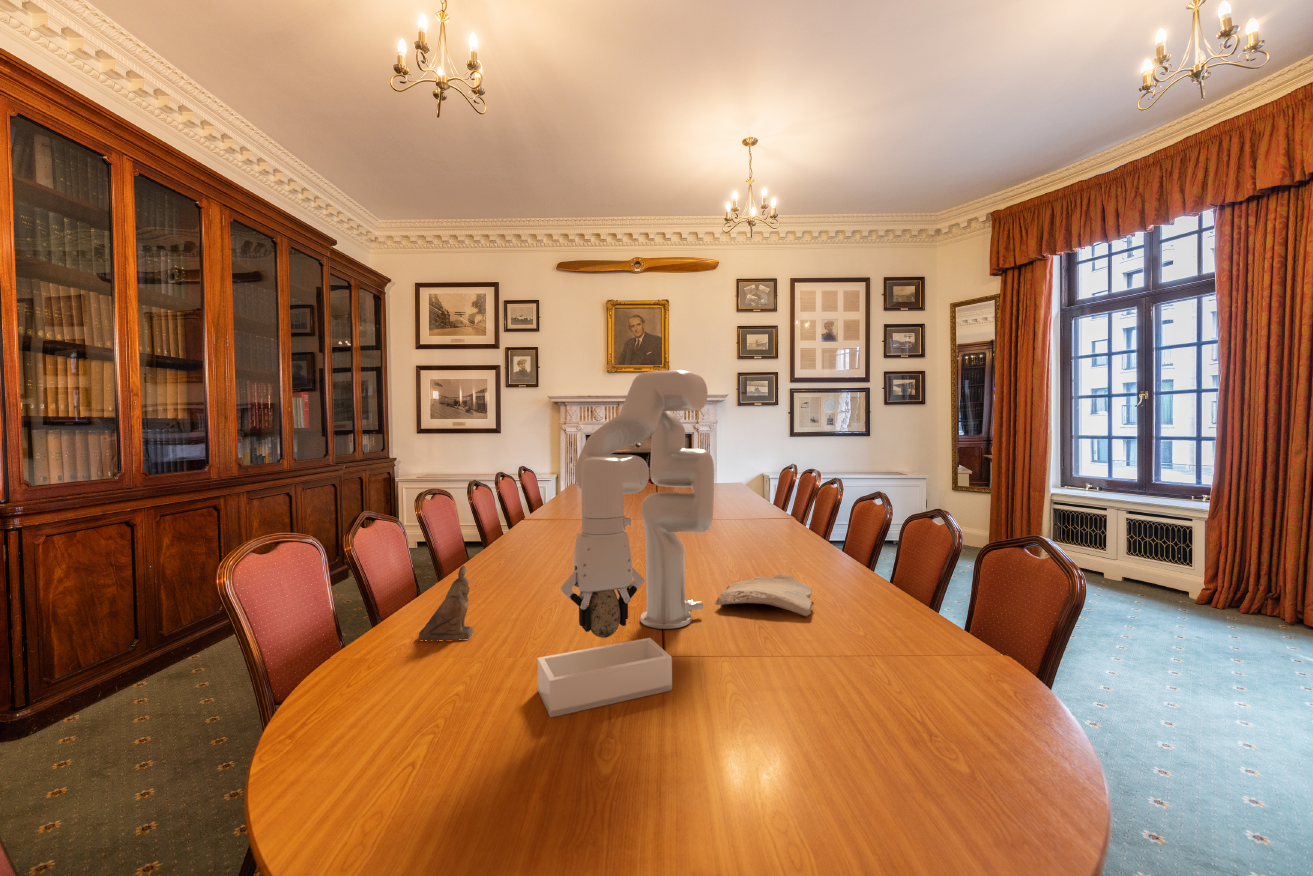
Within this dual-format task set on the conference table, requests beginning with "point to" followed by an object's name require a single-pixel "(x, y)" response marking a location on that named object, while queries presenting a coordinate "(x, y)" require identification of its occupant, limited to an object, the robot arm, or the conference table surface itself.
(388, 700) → the conference table surface
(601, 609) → the decorative egg
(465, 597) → the brown carved statuette
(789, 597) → the beige curved fragment
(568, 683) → the open rectangular box
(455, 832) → the conference table surface
